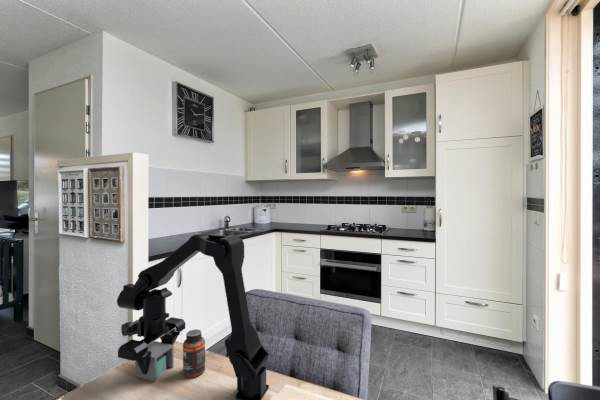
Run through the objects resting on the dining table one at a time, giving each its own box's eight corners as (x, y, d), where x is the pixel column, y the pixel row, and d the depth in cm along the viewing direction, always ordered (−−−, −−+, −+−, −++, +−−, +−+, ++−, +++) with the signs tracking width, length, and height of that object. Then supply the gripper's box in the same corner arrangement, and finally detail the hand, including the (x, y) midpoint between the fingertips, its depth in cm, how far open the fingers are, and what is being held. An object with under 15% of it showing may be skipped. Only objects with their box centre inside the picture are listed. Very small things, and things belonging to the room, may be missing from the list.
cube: (166, 369, 83) (166, 355, 83) (155, 377, 79) (155, 363, 79) (155, 366, 85) (154, 353, 84) (143, 374, 81) (143, 360, 81)
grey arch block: (173, 367, 84) (173, 345, 84) (155, 381, 78) (155, 357, 77) (155, 362, 86) (154, 341, 86) (135, 376, 80) (135, 353, 80)
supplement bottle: (209, 366, 85) (208, 327, 84) (200, 379, 79) (199, 338, 78) (189, 364, 85) (189, 326, 85) (179, 377, 79) (178, 337, 79)
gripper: (157, 296, 93) (157, 344, 93) (101, 321, 75) (102, 381, 76) (186, 301, 89) (186, 351, 90) (134, 328, 72) (135, 390, 72)
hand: (155, 366), depth 82 cm, fingers closed on grey arch block, 7 cm apart
